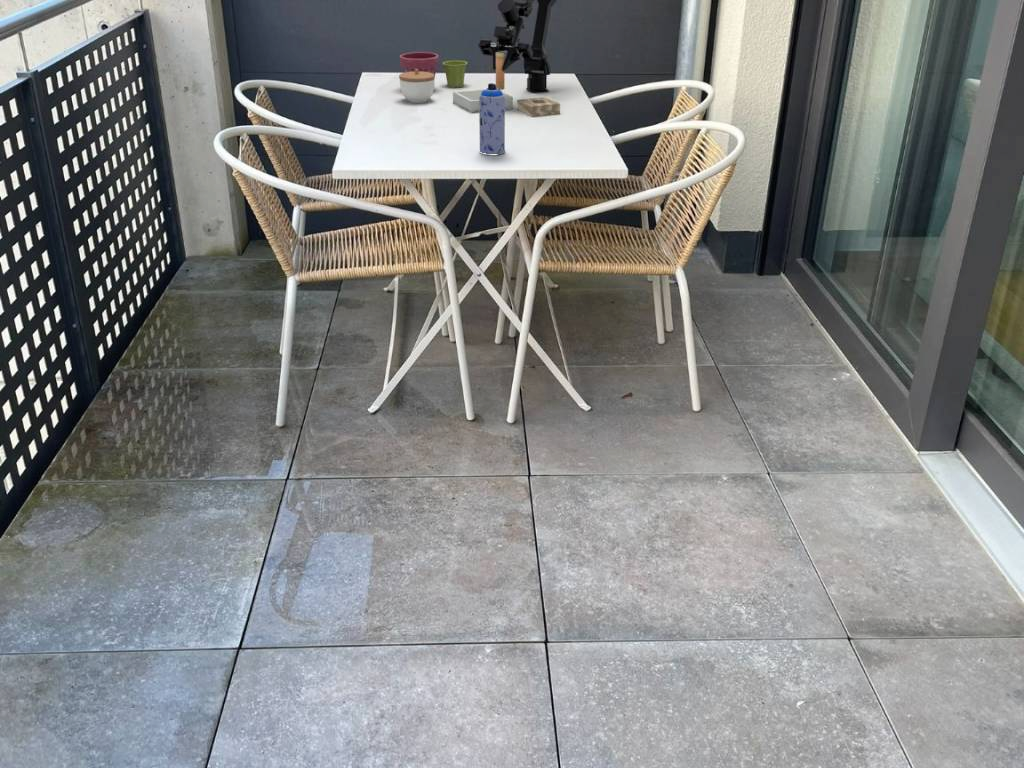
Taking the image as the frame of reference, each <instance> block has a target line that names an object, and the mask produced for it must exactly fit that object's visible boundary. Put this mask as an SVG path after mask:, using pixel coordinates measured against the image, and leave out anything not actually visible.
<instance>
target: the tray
mask: <svg viewBox="0 0 1024 768" xmlns="http://www.w3.org/2000/svg"><path fill="white" fill-rule="evenodd" d="M485 89H486V88H482V89H481V88H480V89H473V90H472V89H471V90H460V91H459V90H458V91H452V103H455V104H456V106H457V105H458V106H457V107H459V106H460V107H459V108H461V107H462V108H461V109H463V110H464V109H465V110H464V111H466V110H467V111H466V112H468V111H469V112H468V113H470V112H475V113H479V97H480V94H481V93H482V91H483V90H485ZM502 93H503V94H504V97H505V110H513V109H514V97H513V96H512V95H509V94H507V93H506V92H503V91H502ZM455 104H454V105H455Z"/></svg>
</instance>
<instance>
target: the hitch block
mask: <svg viewBox="0 0 1024 768" xmlns="http://www.w3.org/2000/svg"><path fill="white" fill-rule="evenodd" d="M516 104H517V106H516V107H517V108H516V110H517V111H518V112H520V113H522V114H525V115H527V116H529V117H530V118H532V117H542V116H543V117H544V116H552V115H560V114H561V103H560V102H558V101H555V100H554V99H551V98H549V97H547V96H544V97H533V98H523V99H517V103H516Z"/></svg>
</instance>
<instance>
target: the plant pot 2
mask: <svg viewBox="0 0 1024 768" xmlns="http://www.w3.org/2000/svg"><path fill="white" fill-rule="evenodd" d="M442 65H443V68H444V72H445V79H446V84H447V86H448V87H449V88H462V87H464V84H465V74H466V68H467V65H468V61H464V60H448V61H443V62H442Z"/></svg>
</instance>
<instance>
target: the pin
mask: <svg viewBox="0 0 1024 768" xmlns="http://www.w3.org/2000/svg"><path fill="white" fill-rule="evenodd" d="M505 53H506V52H501V51H500V52H496V70H495V85H496V88H498V89H499V90H501V91H503V90H505V71H502V67H503V64H504V61H505V59H506V57H505V55H506V54H505Z"/></svg>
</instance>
